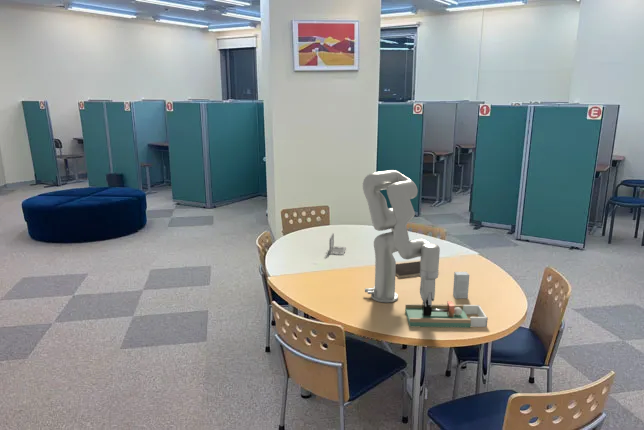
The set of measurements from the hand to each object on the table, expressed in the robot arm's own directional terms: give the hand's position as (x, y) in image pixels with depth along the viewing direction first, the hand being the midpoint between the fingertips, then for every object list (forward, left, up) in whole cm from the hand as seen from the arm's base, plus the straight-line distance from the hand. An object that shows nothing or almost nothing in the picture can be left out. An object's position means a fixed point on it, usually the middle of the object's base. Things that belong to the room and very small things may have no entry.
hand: (426, 312), depth 198 cm
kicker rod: (+5, 0, -1) cm, 5 cm away
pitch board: (+4, 0, -3) cm, 5 cm away
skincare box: (+20, +23, -3) cm, 31 cm away
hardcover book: (+2, +56, -4) cm, 56 cm away
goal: (+20, 0, -3) cm, 21 cm away
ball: (+13, 0, +1) cm, 13 cm away
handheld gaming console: (-39, +86, -3) cm, 95 cm away
